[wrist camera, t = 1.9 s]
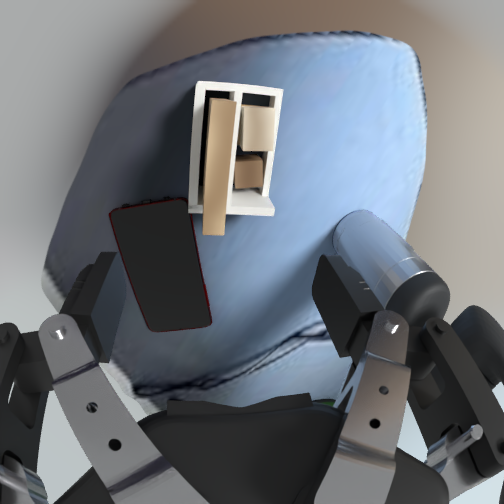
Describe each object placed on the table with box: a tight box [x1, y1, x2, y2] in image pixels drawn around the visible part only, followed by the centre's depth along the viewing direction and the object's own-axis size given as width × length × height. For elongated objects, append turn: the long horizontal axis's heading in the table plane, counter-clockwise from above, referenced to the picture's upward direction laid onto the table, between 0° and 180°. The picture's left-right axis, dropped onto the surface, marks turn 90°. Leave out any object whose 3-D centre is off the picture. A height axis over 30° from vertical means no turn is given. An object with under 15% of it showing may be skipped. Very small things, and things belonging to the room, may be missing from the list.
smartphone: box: [109, 197, 212, 332], centre depth 44 cm, size 12×2×25 cm
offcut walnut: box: [233, 154, 263, 189], centre depth 36 cm, size 3×3×4 cm
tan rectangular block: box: [203, 98, 237, 235], centre depth 28 cm, size 2×11×16 cm, turn 173°
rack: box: [188, 81, 283, 216], centre depth 32 cm, size 10×15×7 cm, turn 173°
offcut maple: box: [240, 106, 275, 151], centre depth 31 cm, size 3×5×3 cm
